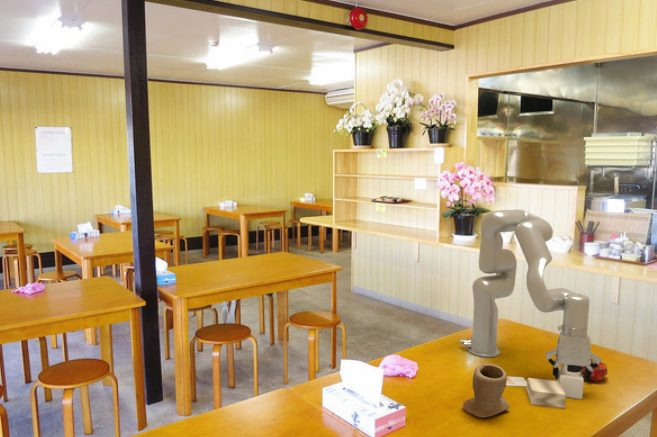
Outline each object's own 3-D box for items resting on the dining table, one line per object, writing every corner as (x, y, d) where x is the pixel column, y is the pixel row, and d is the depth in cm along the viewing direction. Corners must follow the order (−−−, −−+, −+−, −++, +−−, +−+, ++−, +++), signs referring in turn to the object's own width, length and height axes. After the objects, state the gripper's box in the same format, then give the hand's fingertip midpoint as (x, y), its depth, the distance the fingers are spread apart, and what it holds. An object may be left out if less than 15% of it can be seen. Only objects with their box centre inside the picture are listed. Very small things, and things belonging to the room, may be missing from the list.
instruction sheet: (500, 385, 176) (500, 384, 176) (495, 376, 182) (495, 375, 182) (529, 386, 175) (529, 385, 175) (523, 377, 182) (523, 377, 182)
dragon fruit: (575, 384, 181) (601, 385, 184) (592, 379, 174) (619, 380, 177) (568, 360, 185) (594, 362, 189) (585, 354, 178) (612, 356, 182)
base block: (531, 405, 162) (532, 391, 162) (526, 391, 172) (527, 377, 172) (564, 409, 160) (565, 394, 160) (557, 395, 170) (558, 381, 169)
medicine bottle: (579, 390, 173) (582, 357, 172) (582, 399, 166) (585, 365, 165) (556, 386, 175) (559, 354, 174) (558, 395, 169) (561, 362, 167)
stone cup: (485, 426, 149) (488, 378, 147) (457, 408, 159) (459, 363, 157) (520, 414, 156) (523, 368, 154) (491, 397, 167) (494, 354, 165)
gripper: (549, 332, 166) (546, 381, 168) (606, 336, 162) (602, 387, 164) (544, 325, 174) (542, 372, 175) (599, 329, 170) (595, 377, 172)
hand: (571, 379), depth 170 cm, fingers open, 9 cm apart
